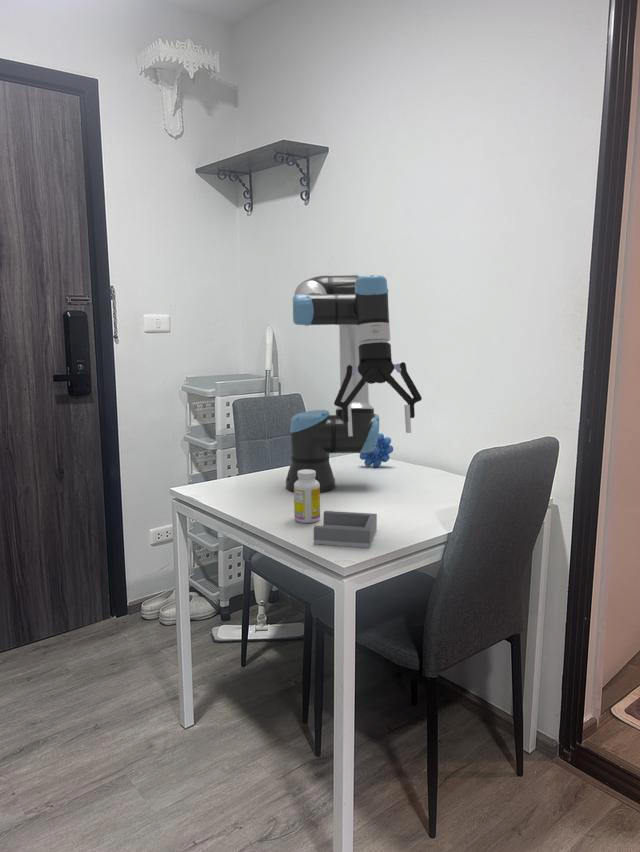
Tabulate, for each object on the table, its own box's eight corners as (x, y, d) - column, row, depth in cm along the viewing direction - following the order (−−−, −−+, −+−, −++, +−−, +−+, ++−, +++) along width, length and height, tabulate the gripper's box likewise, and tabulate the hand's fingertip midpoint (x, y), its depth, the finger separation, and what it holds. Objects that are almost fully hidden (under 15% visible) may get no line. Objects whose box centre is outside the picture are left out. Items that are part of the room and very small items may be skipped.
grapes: (393, 464, 227) (393, 431, 225) (393, 469, 220) (393, 434, 219) (360, 464, 228) (360, 430, 226) (359, 468, 222) (359, 434, 220)
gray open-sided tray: (313, 544, 148) (313, 527, 148) (324, 526, 161) (324, 510, 160) (369, 547, 146) (369, 530, 145) (376, 529, 158) (376, 513, 158)
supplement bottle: (320, 515, 170) (319, 468, 167) (320, 523, 163) (320, 474, 161) (294, 516, 169) (293, 468, 167) (294, 524, 163) (293, 474, 161)
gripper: (321, 344, 145) (327, 438, 145) (431, 338, 147) (436, 431, 147) (320, 348, 153) (325, 437, 153) (424, 342, 154) (429, 431, 154)
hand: (379, 434), depth 150 cm, fingers open, 13 cm apart
